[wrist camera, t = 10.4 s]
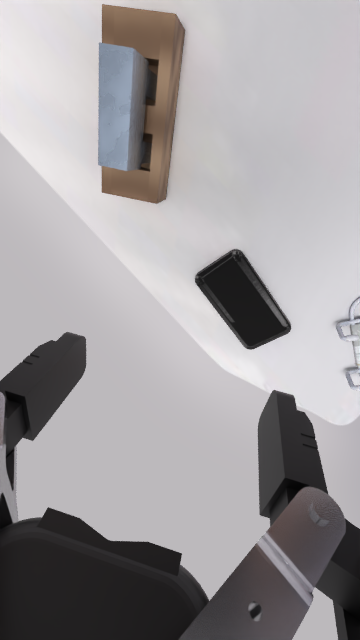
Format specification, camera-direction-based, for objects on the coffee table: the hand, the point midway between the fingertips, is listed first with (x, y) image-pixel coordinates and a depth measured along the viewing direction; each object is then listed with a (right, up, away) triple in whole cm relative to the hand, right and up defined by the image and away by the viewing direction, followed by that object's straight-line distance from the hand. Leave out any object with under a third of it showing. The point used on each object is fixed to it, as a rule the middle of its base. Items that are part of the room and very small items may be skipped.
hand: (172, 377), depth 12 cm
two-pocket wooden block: (-4, +26, +21) cm, 34 cm away
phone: (+10, +5, +31) cm, 33 cm away
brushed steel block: (-4, +25, +20) cm, 33 cm away
